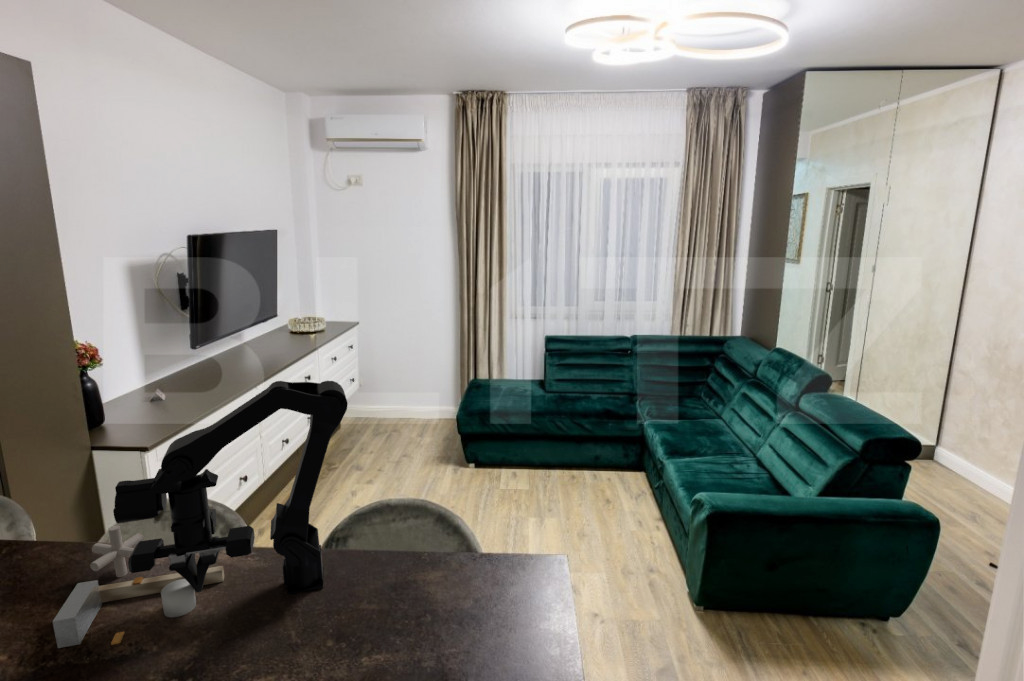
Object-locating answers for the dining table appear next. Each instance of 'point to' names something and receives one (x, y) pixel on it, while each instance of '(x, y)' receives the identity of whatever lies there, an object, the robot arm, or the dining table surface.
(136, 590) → the oak rail
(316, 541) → the robot arm
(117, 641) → the small orange-brown block
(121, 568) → the pipe connector
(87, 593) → the block
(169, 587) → the grey egg-shaped dome
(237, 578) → the dining table surface
